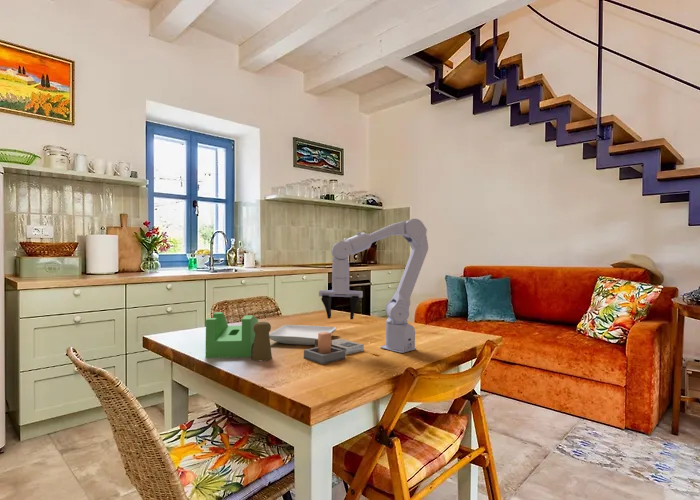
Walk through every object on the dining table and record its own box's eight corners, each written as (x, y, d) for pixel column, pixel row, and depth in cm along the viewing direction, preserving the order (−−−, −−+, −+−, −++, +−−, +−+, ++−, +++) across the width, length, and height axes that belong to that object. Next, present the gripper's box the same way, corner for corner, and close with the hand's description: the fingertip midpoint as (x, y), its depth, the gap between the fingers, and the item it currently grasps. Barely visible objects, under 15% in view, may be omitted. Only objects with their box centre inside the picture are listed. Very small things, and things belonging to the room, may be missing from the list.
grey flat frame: (363, 350, 132) (363, 344, 132) (346, 354, 127) (346, 348, 127) (340, 344, 141) (340, 338, 141) (322, 347, 135) (322, 342, 135)
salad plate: (337, 334, 156) (337, 325, 156) (326, 348, 135) (326, 337, 135) (284, 332, 159) (284, 323, 159) (265, 345, 138) (265, 335, 138)
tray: (345, 358, 123) (345, 350, 123) (322, 364, 116) (322, 355, 116) (326, 352, 129) (326, 345, 129) (303, 358, 123) (303, 349, 123)
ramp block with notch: (250, 357, 124) (250, 319, 124) (205, 359, 122) (205, 319, 122) (257, 339, 147) (258, 307, 147) (220, 340, 146) (220, 307, 146)
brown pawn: (263, 354, 127) (263, 319, 126) (276, 357, 123) (276, 321, 123) (247, 358, 122) (247, 322, 122) (260, 362, 118) (260, 324, 118)
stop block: (331, 351, 131) (331, 340, 131) (324, 352, 129) (324, 341, 129) (321, 348, 135) (321, 337, 135) (314, 349, 133) (314, 339, 133)
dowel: (333, 356, 124) (333, 333, 124) (324, 358, 120) (325, 335, 120) (323, 353, 126) (324, 331, 126) (315, 356, 123) (315, 333, 123)
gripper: (364, 277, 136) (363, 317, 136) (322, 276, 139) (322, 315, 139) (360, 278, 129) (360, 320, 129) (317, 278, 132) (317, 319, 132)
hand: (340, 318), depth 134 cm, fingers open, 7 cm apart
